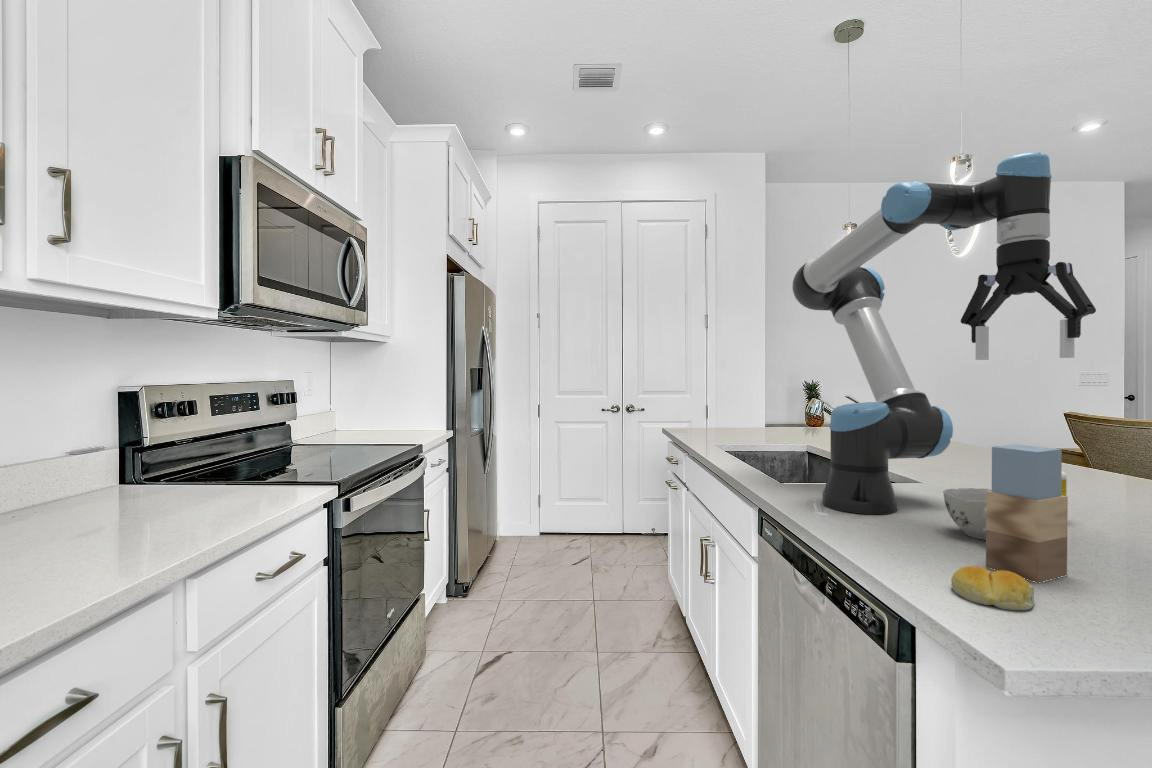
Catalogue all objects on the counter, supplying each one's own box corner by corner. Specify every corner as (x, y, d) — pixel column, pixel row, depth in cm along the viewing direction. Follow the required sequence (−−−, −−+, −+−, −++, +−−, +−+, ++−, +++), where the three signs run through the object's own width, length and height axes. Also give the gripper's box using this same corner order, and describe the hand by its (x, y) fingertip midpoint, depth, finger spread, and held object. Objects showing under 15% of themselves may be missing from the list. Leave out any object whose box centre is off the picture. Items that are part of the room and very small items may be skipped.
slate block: (991, 491, 83) (991, 446, 83) (1015, 488, 86) (1015, 444, 85) (1036, 500, 78) (1037, 451, 78) (1061, 496, 80) (1061, 449, 80)
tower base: (985, 567, 84) (986, 529, 84) (1014, 561, 87) (1014, 524, 87) (1038, 583, 78) (1038, 542, 77) (1066, 576, 80) (1067, 536, 80)
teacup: (943, 523, 108) (943, 483, 108) (1023, 533, 101) (1023, 490, 101) (943, 543, 96) (943, 498, 96) (1035, 556, 89) (1035, 508, 89)
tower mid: (986, 529, 84) (986, 491, 84) (1014, 524, 87) (1014, 487, 86) (1038, 542, 77) (1038, 501, 77) (1067, 536, 80) (1067, 496, 80)
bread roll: (955, 581, 79) (956, 554, 79) (1035, 598, 73) (1035, 569, 73) (945, 599, 73) (945, 569, 73) (1031, 618, 67) (1031, 587, 67)
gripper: (940, 255, 108) (940, 360, 109) (1097, 222, 85) (1096, 356, 86) (965, 257, 111) (964, 360, 112) (1123, 226, 88) (1122, 356, 88)
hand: (1021, 359), depth 99 cm, fingers open, 13 cm apart
